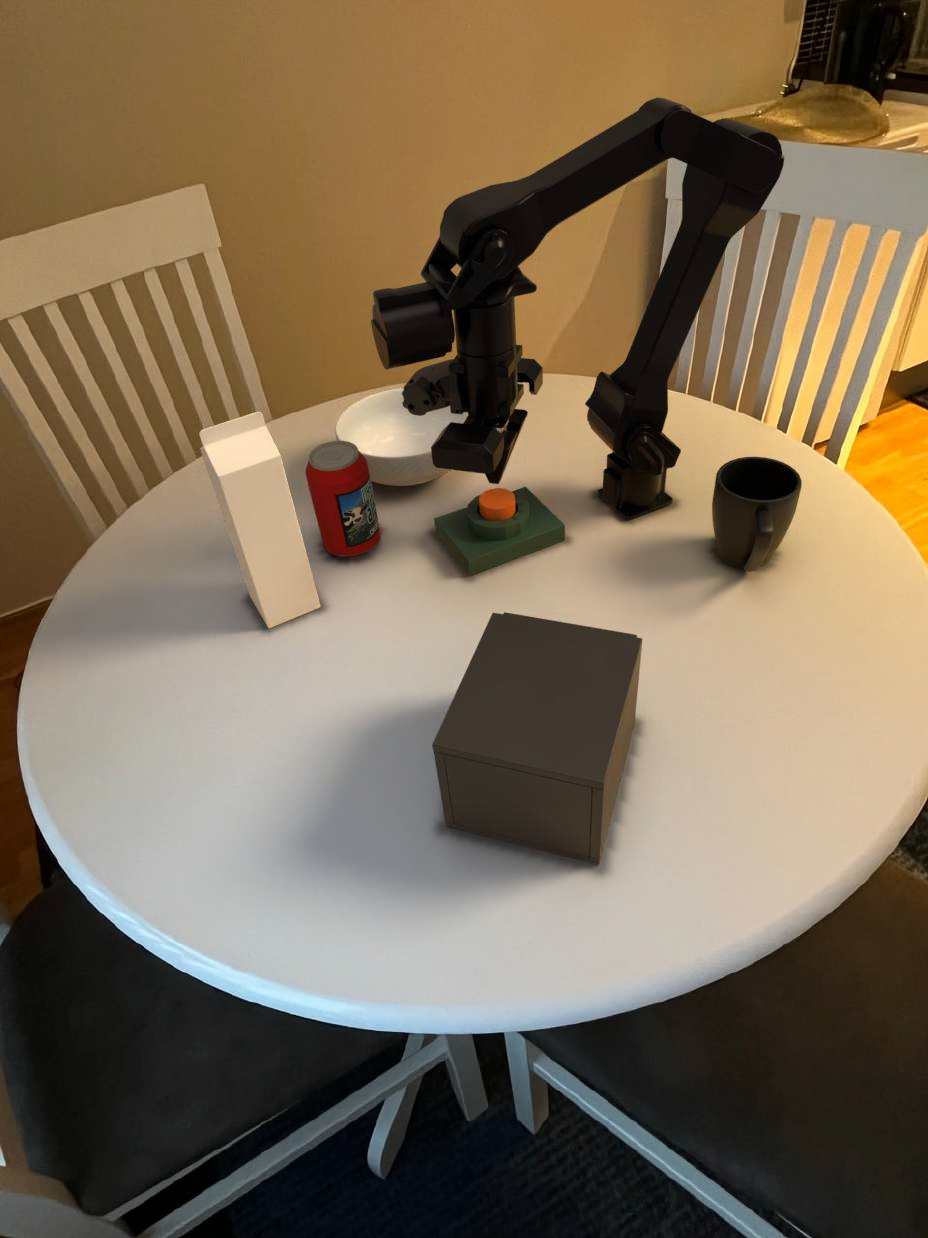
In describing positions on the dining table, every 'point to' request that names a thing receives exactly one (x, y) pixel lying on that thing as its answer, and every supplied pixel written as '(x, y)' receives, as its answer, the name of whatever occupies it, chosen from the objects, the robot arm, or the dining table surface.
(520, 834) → the brown storage cube
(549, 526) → the control block
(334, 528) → the beverage can
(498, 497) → the button
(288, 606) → the milk
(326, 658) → the dining table surface
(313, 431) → the dining table surface
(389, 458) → the cereal bowl
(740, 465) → the mug
